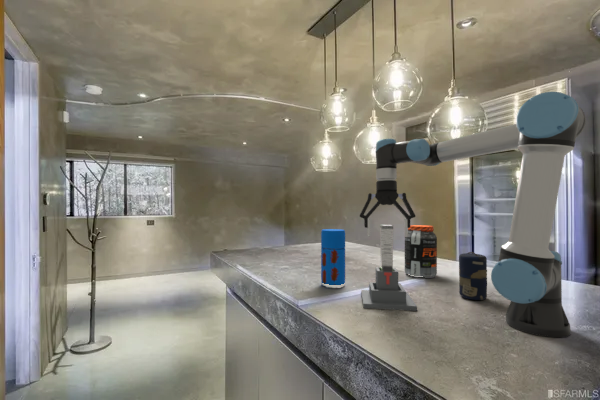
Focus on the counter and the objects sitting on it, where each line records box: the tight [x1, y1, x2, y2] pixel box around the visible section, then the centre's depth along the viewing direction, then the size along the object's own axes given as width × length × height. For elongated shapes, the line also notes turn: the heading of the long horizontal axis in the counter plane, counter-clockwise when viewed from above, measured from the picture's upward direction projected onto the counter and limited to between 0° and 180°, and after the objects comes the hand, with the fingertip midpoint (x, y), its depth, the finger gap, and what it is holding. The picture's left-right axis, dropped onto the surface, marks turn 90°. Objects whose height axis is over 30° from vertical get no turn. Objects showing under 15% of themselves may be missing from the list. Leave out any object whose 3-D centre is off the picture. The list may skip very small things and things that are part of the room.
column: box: [379, 224, 394, 271], centre depth 115 cm, size 6×4×22 cm
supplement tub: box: [404, 224, 438, 279], centre depth 159 cm, size 16×16×26 cm
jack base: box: [360, 266, 418, 312], centre depth 115 cm, size 18×18×13 cm
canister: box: [458, 251, 488, 301], centre depth 120 cm, size 10×10×18 cm
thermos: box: [320, 228, 346, 285], centre depth 138 cm, size 11×11×25 cm
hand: (387, 236), depth 115 cm, fingers open, 13 cm apart
